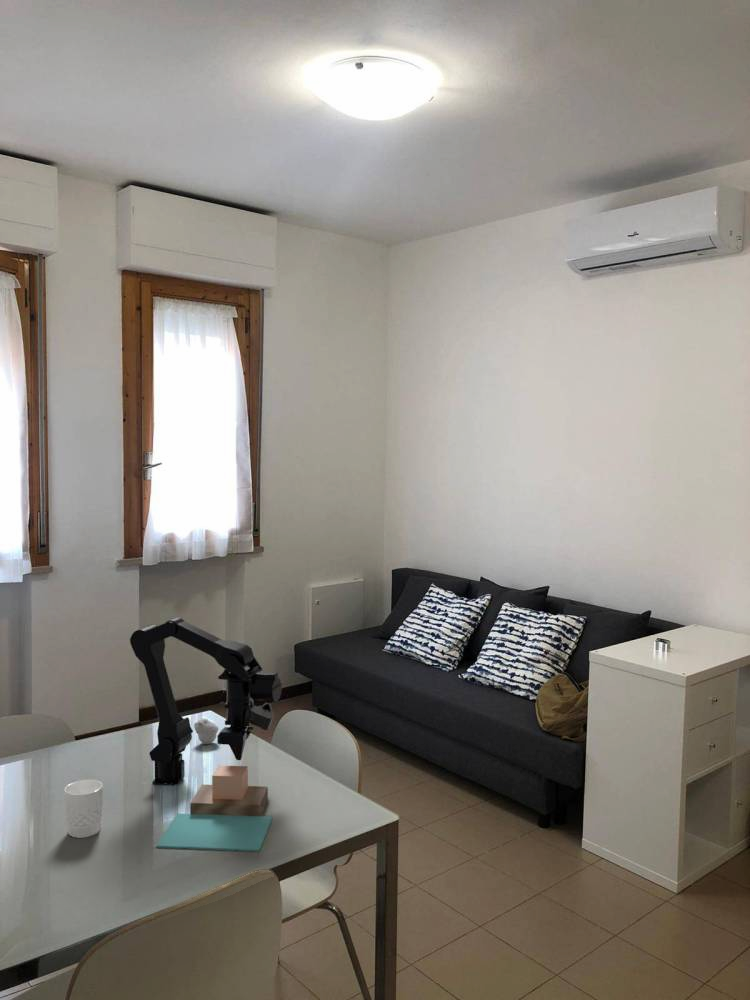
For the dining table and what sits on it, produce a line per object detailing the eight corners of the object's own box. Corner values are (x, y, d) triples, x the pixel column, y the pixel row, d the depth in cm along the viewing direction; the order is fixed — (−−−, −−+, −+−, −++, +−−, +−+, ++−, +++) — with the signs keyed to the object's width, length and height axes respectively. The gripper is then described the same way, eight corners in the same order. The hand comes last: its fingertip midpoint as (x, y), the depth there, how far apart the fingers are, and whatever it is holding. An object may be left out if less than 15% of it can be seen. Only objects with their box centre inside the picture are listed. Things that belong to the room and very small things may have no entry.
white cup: (110, 826, 185) (110, 782, 184) (87, 842, 177) (86, 797, 177) (81, 820, 187) (80, 777, 187) (57, 836, 180) (56, 791, 179)
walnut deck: (190, 815, 190) (190, 802, 190) (202, 796, 200) (201, 784, 200) (259, 818, 189) (259, 805, 189) (267, 798, 199) (267, 786, 199)
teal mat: (156, 847, 175) (156, 845, 175) (177, 815, 190) (177, 813, 190) (259, 851, 174) (259, 849, 174) (272, 818, 189) (272, 816, 189)
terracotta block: (212, 798, 192) (212, 775, 192) (218, 787, 198) (218, 765, 198) (242, 799, 192) (242, 776, 191) (247, 788, 198) (247, 766, 197)
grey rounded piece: (197, 738, 238) (197, 715, 237) (221, 740, 237) (221, 716, 237) (191, 746, 232) (190, 722, 231) (215, 748, 231) (215, 723, 230)
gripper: (263, 711, 193) (264, 776, 194) (278, 686, 211) (278, 746, 213) (216, 709, 193) (217, 774, 195) (234, 685, 212) (235, 745, 213)
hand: (239, 759), depth 204 cm, fingers closed
